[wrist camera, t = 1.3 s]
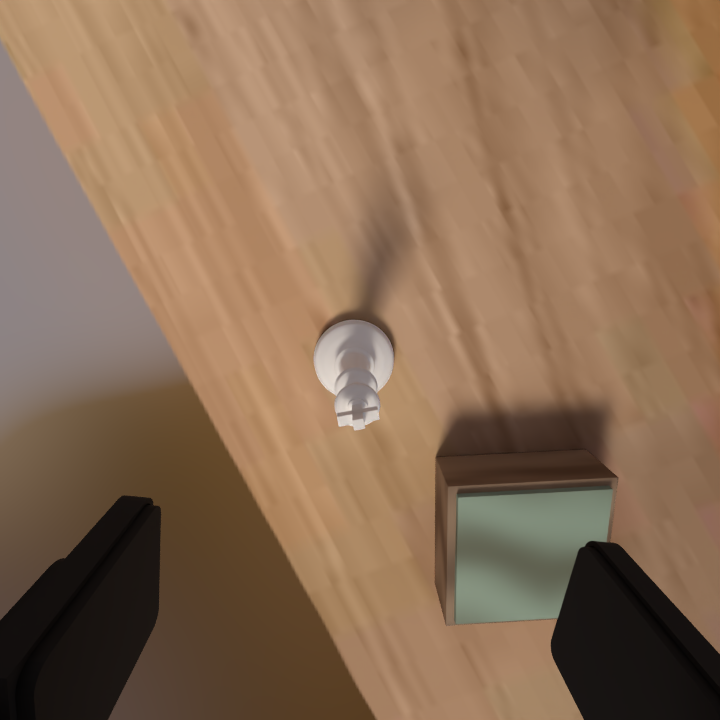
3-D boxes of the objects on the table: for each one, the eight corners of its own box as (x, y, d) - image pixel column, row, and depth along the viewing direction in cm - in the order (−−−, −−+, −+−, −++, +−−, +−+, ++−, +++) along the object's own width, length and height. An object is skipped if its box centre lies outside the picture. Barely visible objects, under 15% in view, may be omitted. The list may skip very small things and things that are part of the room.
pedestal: (435, 457, 29) (449, 490, 25) (585, 449, 29) (622, 481, 25) (434, 583, 31) (447, 631, 27) (572, 575, 31) (604, 621, 28)
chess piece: (306, 327, 26) (283, 376, 17) (386, 312, 26) (411, 353, 16) (322, 402, 27) (309, 489, 18) (399, 389, 27) (428, 469, 18)
